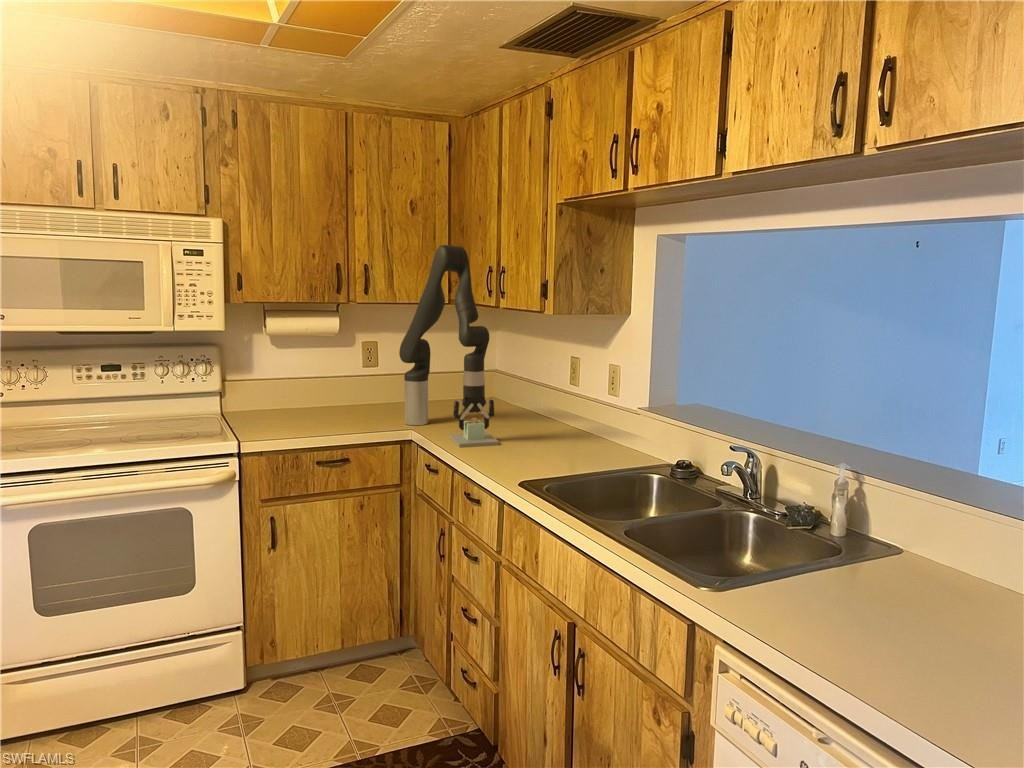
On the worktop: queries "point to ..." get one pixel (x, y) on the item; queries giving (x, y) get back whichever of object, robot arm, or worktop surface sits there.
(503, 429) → the worktop surface
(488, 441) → the board
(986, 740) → the worktop surface
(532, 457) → the worktop surface
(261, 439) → the worktop surface
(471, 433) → the collar
